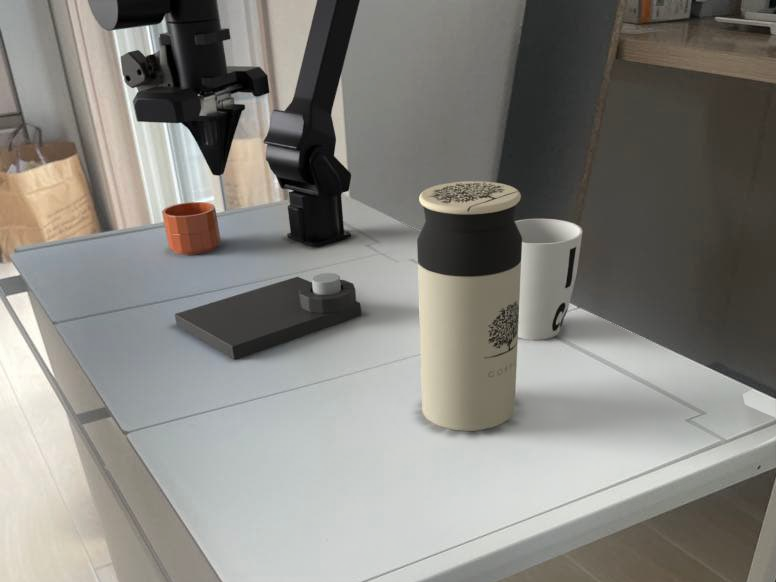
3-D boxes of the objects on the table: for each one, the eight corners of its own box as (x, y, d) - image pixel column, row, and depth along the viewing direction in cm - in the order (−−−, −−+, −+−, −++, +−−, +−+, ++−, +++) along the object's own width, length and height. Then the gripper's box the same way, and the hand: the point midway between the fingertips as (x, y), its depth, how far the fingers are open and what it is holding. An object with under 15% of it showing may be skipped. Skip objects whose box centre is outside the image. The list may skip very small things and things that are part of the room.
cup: (572, 348, 82) (581, 245, 76) (489, 344, 84) (492, 242, 78) (575, 316, 88) (583, 219, 82) (498, 313, 90) (501, 217, 84)
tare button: (330, 284, 91) (328, 270, 91) (346, 291, 90) (345, 277, 89) (307, 292, 90) (306, 277, 89) (324, 299, 88) (322, 284, 87)
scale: (302, 287, 99) (299, 261, 97) (367, 315, 91) (365, 288, 89) (176, 326, 91) (171, 299, 89) (236, 361, 83) (231, 332, 81)
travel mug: (403, 408, 73) (394, 193, 63) (474, 382, 77) (476, 174, 66) (461, 444, 68) (461, 215, 57) (533, 414, 72) (546, 193, 61)
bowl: (205, 236, 116) (198, 199, 113) (230, 247, 112) (224, 208, 109) (160, 248, 113) (152, 209, 110) (185, 259, 109) (177, 219, 106)
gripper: (180, 11, 99) (204, 153, 109) (74, 30, 86) (112, 191, 95) (262, 10, 96) (279, 157, 105) (164, 30, 82) (195, 197, 91)
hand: (218, 174), depth 99 cm, fingers closed
